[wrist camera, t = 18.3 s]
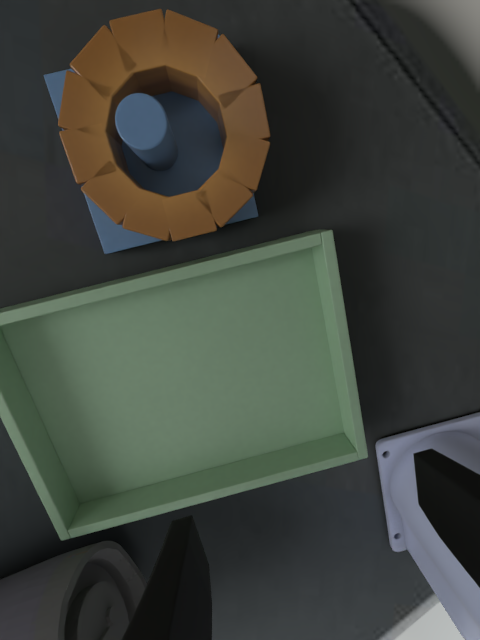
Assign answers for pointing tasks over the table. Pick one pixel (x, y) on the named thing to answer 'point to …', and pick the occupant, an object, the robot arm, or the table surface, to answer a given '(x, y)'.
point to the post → (158, 153)
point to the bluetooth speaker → (72, 596)
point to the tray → (182, 383)
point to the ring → (153, 79)
